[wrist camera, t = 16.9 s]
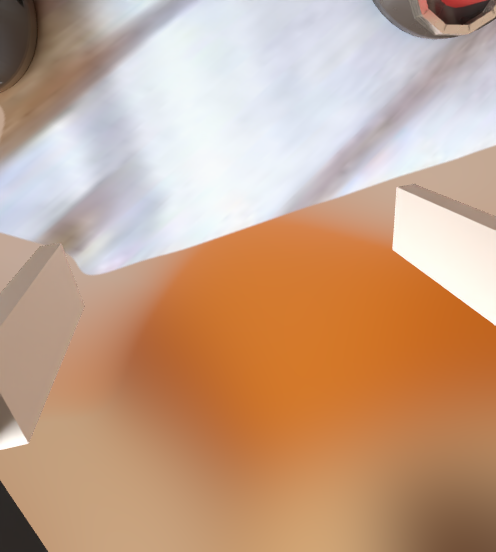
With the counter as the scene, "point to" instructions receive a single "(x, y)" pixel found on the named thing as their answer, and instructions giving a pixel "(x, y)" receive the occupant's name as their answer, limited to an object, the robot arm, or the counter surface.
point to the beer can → (460, 2)
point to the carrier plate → (436, 17)
